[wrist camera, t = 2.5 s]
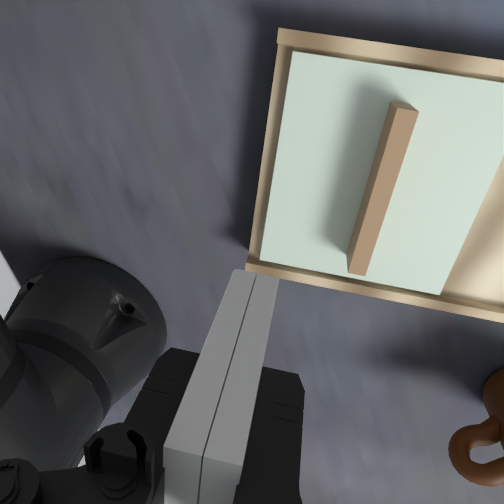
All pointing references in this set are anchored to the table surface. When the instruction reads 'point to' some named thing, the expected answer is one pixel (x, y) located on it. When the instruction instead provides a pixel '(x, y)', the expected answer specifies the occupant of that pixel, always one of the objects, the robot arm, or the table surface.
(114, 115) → the table surface
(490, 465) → the mug
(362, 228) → the lid
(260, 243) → the beige flat rectangular tray
